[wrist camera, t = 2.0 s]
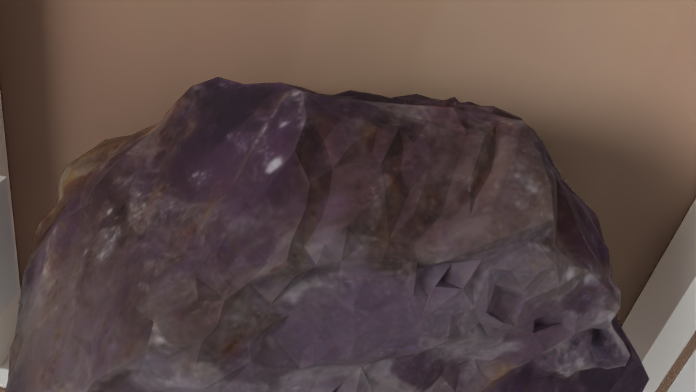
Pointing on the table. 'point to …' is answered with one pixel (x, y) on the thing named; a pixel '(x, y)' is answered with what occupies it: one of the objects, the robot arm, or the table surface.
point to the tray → (640, 325)
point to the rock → (320, 256)
